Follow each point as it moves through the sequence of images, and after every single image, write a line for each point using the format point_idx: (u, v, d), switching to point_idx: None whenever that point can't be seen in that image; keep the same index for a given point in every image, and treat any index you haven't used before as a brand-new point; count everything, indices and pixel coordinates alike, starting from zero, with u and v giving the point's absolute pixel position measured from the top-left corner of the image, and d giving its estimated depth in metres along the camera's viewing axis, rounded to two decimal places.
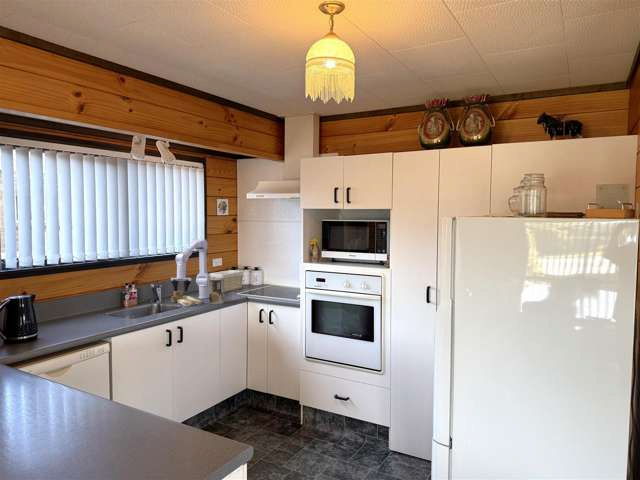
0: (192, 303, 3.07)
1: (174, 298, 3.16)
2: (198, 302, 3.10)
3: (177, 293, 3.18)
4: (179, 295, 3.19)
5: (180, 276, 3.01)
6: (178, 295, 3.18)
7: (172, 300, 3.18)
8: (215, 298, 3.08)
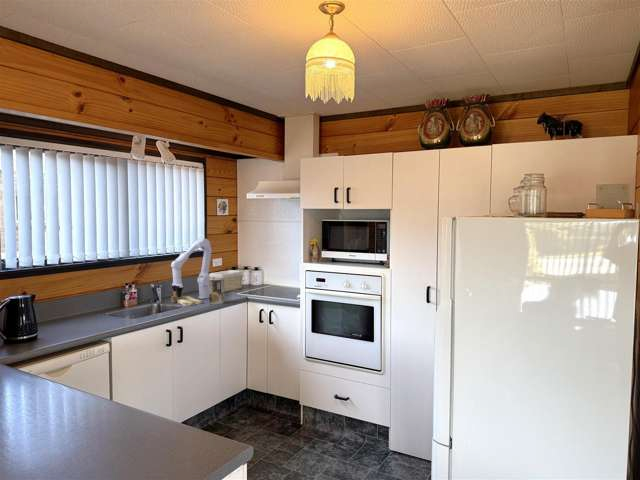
0: (192, 303, 3.07)
1: (174, 298, 3.16)
2: (198, 302, 3.10)
3: None
4: None
5: (174, 282, 3.17)
6: None
7: (172, 300, 3.18)
8: (215, 298, 3.08)
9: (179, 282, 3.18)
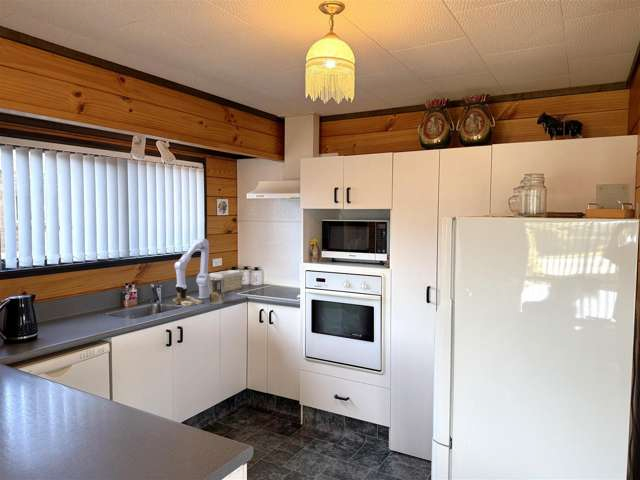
0: (192, 303, 3.07)
1: (178, 299, 3.10)
2: (198, 302, 3.10)
3: None
4: None
5: (178, 284, 3.11)
6: None
7: (176, 302, 3.12)
8: (215, 298, 3.08)
9: (183, 283, 3.12)
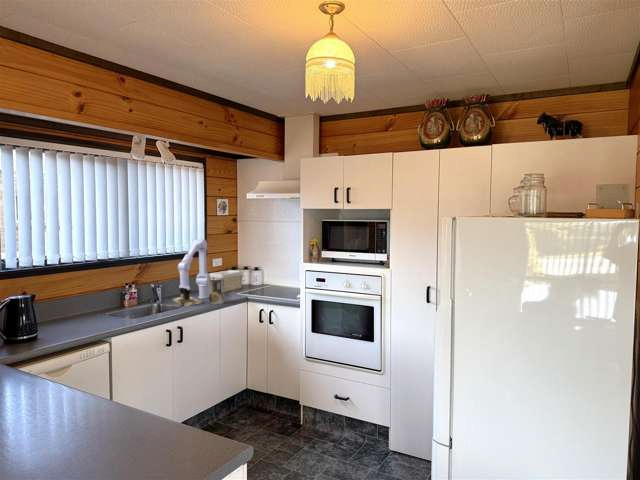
0: (192, 303, 3.07)
1: (181, 301, 3.05)
2: (198, 302, 3.10)
3: None
4: None
5: (181, 285, 3.06)
6: None
7: (179, 303, 3.07)
8: (215, 298, 3.08)
9: (187, 284, 3.07)
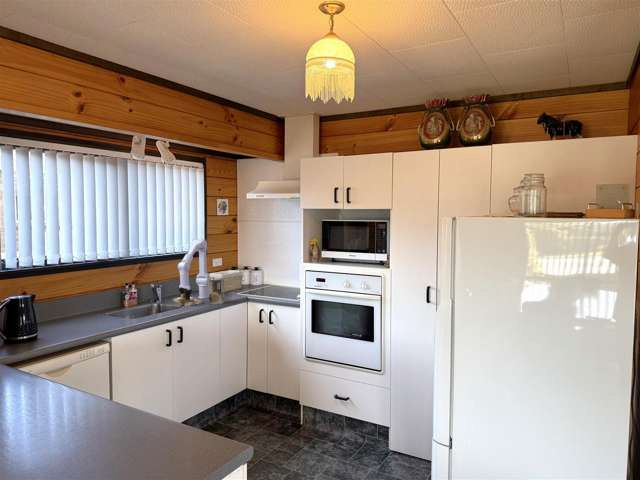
0: (192, 303, 3.07)
1: (181, 301, 3.05)
2: (198, 302, 3.10)
3: None
4: None
5: (181, 284, 3.06)
6: None
7: (179, 303, 3.07)
8: (215, 298, 3.08)
9: (187, 284, 3.07)
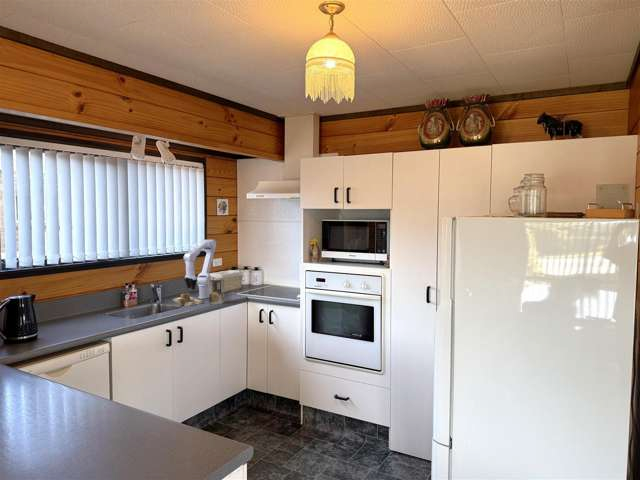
0: (192, 303, 3.07)
1: (181, 301, 3.05)
2: (198, 302, 3.10)
3: (185, 296, 3.07)
4: (187, 298, 3.08)
5: (187, 275, 3.15)
6: (186, 298, 3.07)
7: (179, 303, 3.07)
8: (215, 298, 3.08)
9: (192, 274, 3.16)
